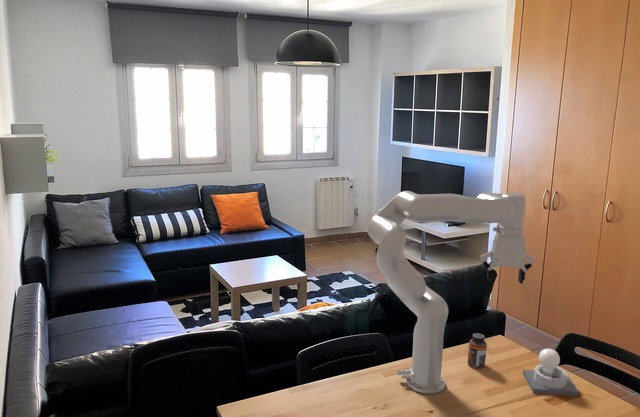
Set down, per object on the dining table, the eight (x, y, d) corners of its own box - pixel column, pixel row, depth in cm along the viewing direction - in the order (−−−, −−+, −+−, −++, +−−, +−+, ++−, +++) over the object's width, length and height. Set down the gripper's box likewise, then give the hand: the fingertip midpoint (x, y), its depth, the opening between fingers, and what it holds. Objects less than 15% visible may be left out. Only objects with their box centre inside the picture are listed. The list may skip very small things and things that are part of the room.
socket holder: (533, 392, 168) (534, 380, 167) (522, 373, 180) (524, 361, 179) (578, 395, 167) (580, 383, 166) (565, 376, 178) (566, 364, 177)
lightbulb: (559, 386, 169) (562, 355, 167) (538, 384, 170) (541, 353, 168) (554, 376, 175) (558, 346, 173) (534, 374, 177) (537, 344, 174)
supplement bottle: (464, 362, 187) (466, 332, 185) (478, 359, 189) (480, 330, 186) (473, 370, 182) (476, 340, 179) (488, 368, 183) (491, 338, 181)
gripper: (484, 233, 166) (480, 284, 170) (541, 235, 165) (535, 286, 168) (480, 227, 174) (476, 276, 177) (534, 229, 172) (529, 279, 175)
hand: (505, 281), depth 173 cm, fingers open, 9 cm apart
